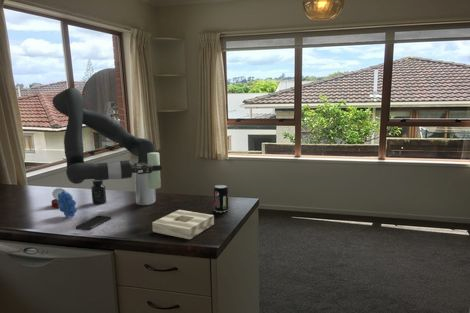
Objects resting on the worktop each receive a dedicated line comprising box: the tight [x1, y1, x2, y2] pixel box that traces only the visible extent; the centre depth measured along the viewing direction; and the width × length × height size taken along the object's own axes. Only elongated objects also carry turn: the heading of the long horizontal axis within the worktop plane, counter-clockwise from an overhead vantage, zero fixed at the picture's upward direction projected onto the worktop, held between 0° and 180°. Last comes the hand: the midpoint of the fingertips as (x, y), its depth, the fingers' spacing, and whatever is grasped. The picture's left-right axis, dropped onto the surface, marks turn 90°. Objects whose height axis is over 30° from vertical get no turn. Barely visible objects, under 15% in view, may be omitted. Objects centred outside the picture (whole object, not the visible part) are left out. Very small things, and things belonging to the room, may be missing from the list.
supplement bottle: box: [90, 179, 107, 205], centre depth 186 cm, size 7×7×12 cm
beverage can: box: [213, 184, 229, 214], centre depth 170 cm, size 7×7×12 cm
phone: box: [75, 215, 112, 231], centre depth 157 cm, size 8×1×15 cm
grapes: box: [57, 190, 78, 218], centre depth 164 cm, size 12×7×12 cm, turn 62°
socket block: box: [152, 209, 215, 240], centre depth 149 cm, size 18×18×4 cm
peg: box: [147, 151, 162, 190], centre depth 156 cm, size 5×5×15 cm
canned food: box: [50, 187, 74, 209], centre depth 184 cm, size 11×10×10 cm
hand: (160, 166), depth 157 cm, fingers closed on peg, 5 cm apart
